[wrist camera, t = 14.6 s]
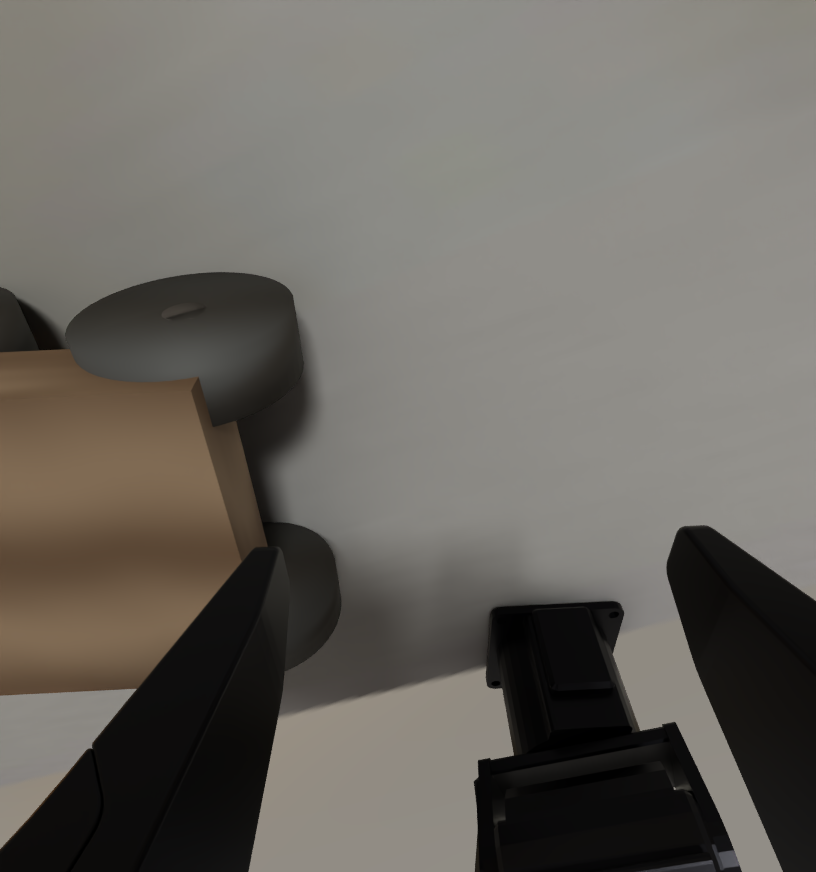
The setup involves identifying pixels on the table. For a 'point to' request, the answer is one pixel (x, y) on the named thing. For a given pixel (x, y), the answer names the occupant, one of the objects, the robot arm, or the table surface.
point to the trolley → (141, 479)
